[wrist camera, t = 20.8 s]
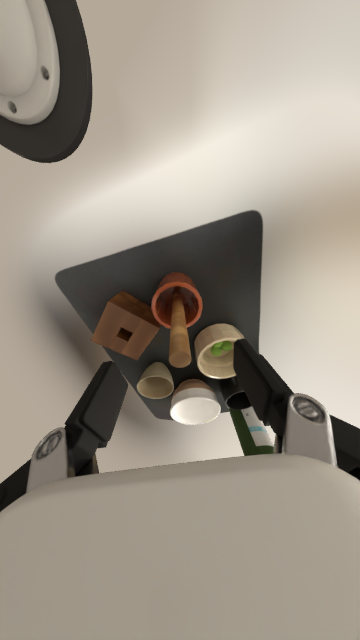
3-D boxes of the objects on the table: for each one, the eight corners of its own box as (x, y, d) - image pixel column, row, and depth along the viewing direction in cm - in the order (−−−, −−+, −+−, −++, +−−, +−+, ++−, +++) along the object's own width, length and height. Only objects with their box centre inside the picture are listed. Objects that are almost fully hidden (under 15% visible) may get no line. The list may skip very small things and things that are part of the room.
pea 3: (223, 338, 37) (216, 342, 35) (232, 338, 34) (225, 342, 33) (226, 348, 37) (220, 353, 35) (235, 348, 34) (229, 353, 33)
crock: (152, 295, 30) (142, 314, 21) (171, 264, 27) (169, 270, 18) (181, 313, 32) (183, 336, 23) (201, 286, 29) (212, 301, 20)
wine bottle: (221, 395, 49) (273, 560, 23) (223, 382, 46) (290, 561, 19) (241, 394, 50) (316, 557, 23) (245, 381, 46) (341, 557, 19)
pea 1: (207, 338, 34) (211, 349, 33) (216, 333, 33) (221, 344, 31) (212, 339, 36) (217, 348, 35) (221, 334, 35) (226, 344, 33)
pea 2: (208, 354, 35) (216, 350, 33) (208, 345, 37) (216, 341, 35) (215, 359, 36) (224, 356, 34) (215, 351, 38) (223, 347, 36)
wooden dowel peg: (170, 294, 29) (163, 361, 11) (175, 287, 28) (176, 347, 11) (178, 299, 30) (183, 371, 12) (183, 292, 29) (196, 358, 11)
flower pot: (152, 380, 44) (148, 402, 38) (136, 362, 40) (129, 383, 33) (179, 372, 42) (179, 393, 36) (165, 351, 38) (163, 371, 32)
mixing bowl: (184, 347, 37) (186, 366, 31) (215, 313, 32) (224, 327, 26) (218, 364, 41) (225, 384, 35) (249, 336, 36) (265, 354, 30)
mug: (238, 354, 40) (254, 380, 32) (246, 377, 45) (262, 404, 37) (210, 364, 41) (218, 392, 33) (220, 385, 47) (230, 413, 39)
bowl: (178, 404, 52) (179, 428, 45) (164, 380, 44) (161, 404, 37) (217, 395, 50) (224, 419, 43) (209, 369, 42) (215, 392, 35)
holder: (106, 324, 33) (90, 340, 27) (122, 290, 29) (108, 300, 23) (143, 341, 36) (137, 360, 30) (162, 313, 32) (159, 328, 26)
